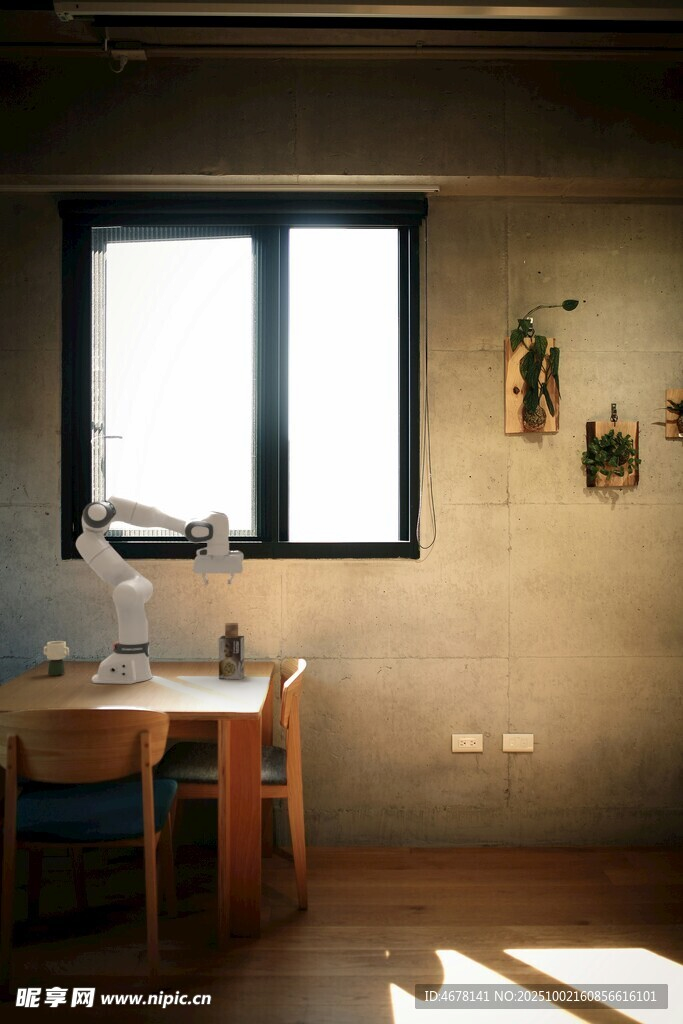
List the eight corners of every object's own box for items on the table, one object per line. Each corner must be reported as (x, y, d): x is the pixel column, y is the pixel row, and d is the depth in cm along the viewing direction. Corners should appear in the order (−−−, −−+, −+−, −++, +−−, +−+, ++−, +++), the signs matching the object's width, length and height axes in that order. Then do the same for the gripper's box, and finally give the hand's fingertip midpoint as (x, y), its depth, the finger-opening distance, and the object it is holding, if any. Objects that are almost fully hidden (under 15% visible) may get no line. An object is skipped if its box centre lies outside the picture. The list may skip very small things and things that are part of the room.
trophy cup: (73, 673, 303) (73, 641, 303) (64, 677, 296) (64, 644, 296) (48, 672, 305) (48, 640, 305) (38, 676, 298) (38, 643, 298)
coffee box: (244, 676, 301) (245, 635, 301) (241, 679, 295) (241, 638, 295) (222, 675, 302) (222, 635, 302) (218, 679, 296) (218, 637, 295)
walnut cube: (225, 638, 295) (225, 625, 295) (225, 635, 300) (225, 623, 300) (238, 637, 296) (238, 625, 296) (238, 635, 301) (238, 623, 301)
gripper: (243, 550, 317) (243, 583, 317) (193, 550, 315) (193, 583, 315) (243, 551, 311) (243, 584, 311) (192, 551, 308) (192, 585, 309)
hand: (218, 584), depth 313 cm, fingers open, 8 cm apart
